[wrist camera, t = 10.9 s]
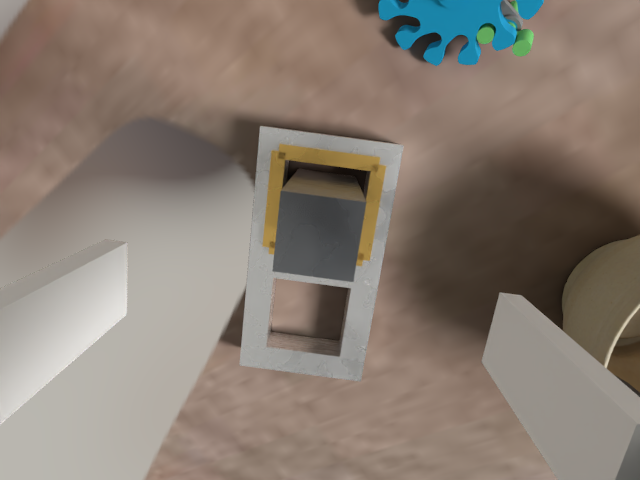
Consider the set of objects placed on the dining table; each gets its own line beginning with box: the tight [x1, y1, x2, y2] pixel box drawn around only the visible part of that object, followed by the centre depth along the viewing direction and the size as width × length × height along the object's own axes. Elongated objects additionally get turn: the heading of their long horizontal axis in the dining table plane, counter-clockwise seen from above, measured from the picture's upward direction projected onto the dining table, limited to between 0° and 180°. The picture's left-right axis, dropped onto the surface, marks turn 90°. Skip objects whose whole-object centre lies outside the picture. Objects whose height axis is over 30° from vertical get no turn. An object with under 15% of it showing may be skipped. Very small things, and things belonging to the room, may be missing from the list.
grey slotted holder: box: [240, 126, 404, 381], centre depth 32 cm, size 19×10×3 cm, turn 173°
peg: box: [272, 169, 366, 282], centre depth 26 cm, size 4×4×11 cm
